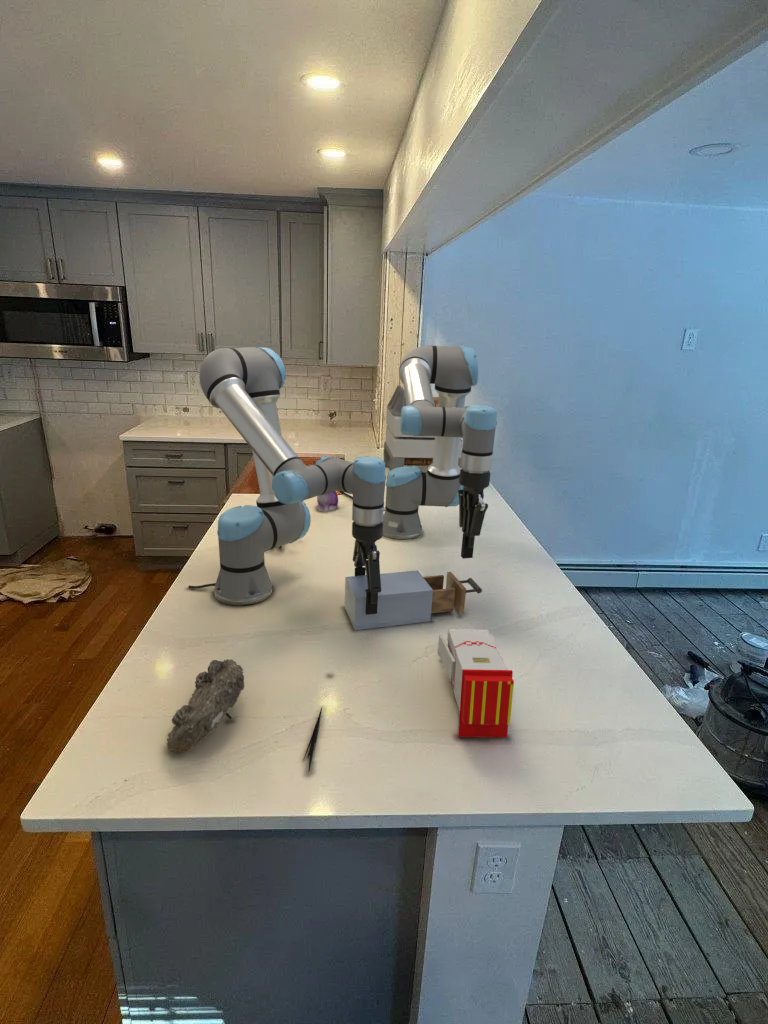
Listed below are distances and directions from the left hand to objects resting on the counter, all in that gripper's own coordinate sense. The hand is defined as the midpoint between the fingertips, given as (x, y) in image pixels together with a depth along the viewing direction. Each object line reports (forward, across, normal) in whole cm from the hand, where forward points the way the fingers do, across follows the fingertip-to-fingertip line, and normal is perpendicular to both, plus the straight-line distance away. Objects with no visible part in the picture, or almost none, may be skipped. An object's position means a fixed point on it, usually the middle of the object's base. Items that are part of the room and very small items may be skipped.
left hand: (365, 601), depth 144 cm
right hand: (-10, 0, -27) cm, 29 cm away
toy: (+4, -34, -14) cm, 37 cm away
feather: (+4, -35, +18) cm, 40 cm away
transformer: (+5, +126, -59) cm, 139 cm away
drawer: (+3, 0, -19) cm, 19 cm away
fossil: (+4, -30, +38) cm, 48 cm away
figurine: (+4, +83, -6) cm, 83 cm away
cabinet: (+4, 0, -6) cm, 7 cm away
